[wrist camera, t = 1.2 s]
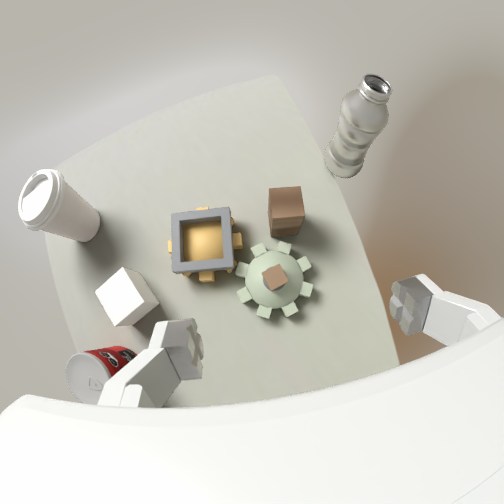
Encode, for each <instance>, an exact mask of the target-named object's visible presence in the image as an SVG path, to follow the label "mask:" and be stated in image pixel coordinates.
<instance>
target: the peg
mask: <svg viewBox="0 0 504 504" xmlns="http://www.w3.org/2000/svg"><path fill="white" fill-rule="evenodd" d="M268 216H269V225H270V234H271V237H276V236H287V235H297V234H298V231H299V229H300V227H301V224H302V222H303V220H304V217H305V211H304V205H303V199H302V193H301V187H300V186H297V187H283V188H271V189H269V203H268Z"/></svg>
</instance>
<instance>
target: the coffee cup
mask: <svg viewBox="0 0 504 504" xmlns="http://www.w3.org/2000/svg"><path fill="white" fill-rule="evenodd" d="M18 210H19V214H20V216H21V218H22V220H23V222H24V224H25V225H26V226H27V227H28V228H29V229H30V230H32V231H38V230H43V231H46V232H50V233H53V234H57V235H60V236H63V237H67V238H70V239H73V240H77V241H80V242H87V241H89V240H91V239H92V238H93V237H94V236H95V235H96V233H97V232H98V230H99V227H100V216H99V213H98V212H97V211H96V210H95V209H94V208H93V207H92V206H91V205H90V204H89V203H88V202H86V201H85V200H84V199H83V198H82V197H81V196H80V195H79V194H78V193H77V192H76V191H75V190H73V189H72V188H71V187H70V186H69V185H68V184H67V183H66V182H65V180H64V177H63V175H62V174H61V173H60V172H59V171H56V170H51V169H49V170H40V171H38V172H36V173H35V174H33V175H32V176H31V177H30V178H29V180H28V181H27V183H26V184H25V186H24V188H23V190H22V192H21V195H20V198H19V205H18Z"/></svg>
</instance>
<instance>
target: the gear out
mask: <svg viewBox="0 0 504 504" xmlns="http://www.w3.org/2000/svg"><path fill="white" fill-rule="evenodd" d="M233 224H234V220H233V218H232V217H231V211H230V208H229V207H223V208H214V209H209V207H202V208H196V211H189V212H181V213H173V214H171V235H172V240H168V252H169V253H170V254H172V272H174V273H176V274H180V273H182V274H183V275H185V276H187V277H189V275H190V274H191V273H192V272H199V280H200V281H202V282H212V281H215V275H214V271H216V270H226V271H227V272H228V273H231V271H232V270H233V269H235V267H236V266H237V262H236V261H235V260H234V251H233V250H234V249H243V245H242V236H241V233H232V226H233Z"/></svg>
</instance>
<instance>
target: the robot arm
mask: <svg viewBox="0 0 504 504" xmlns="http://www.w3.org/2000/svg"><path fill="white" fill-rule="evenodd" d="M392 292H393V296H392V297H391V299H390V304H389V307H390V312H391V315H392V317H393V318H394V319H395V320H396V321H399V322H400V328H401V329H402V330H403V332H404V333H405V334H406V336H408V335H412V334H414V333H417V332H421V331H423V332H424V333H426V334H427V335H429V336H431V337H433V338H435V339H436V340H438V341H440V342H441V343H443V344H445V345H447V347H445V348H443V349H441V350H438V351H436V352H434V353H431V354H429V355H426V356H424V357H422V358H419V359H417V360H414V361H411V362H409V363H406V364H403V365H400V366H398V367H395V368H392V369H389V370H386V371H383V372H380V373H377V374H374V375H371V376H367V377H364V378H361V379H357V380H354V381H350V382H347V383H343V384H339V385H335V386H331V387H327V388H323V389H319V390H314V391H310V392H305V393H300V394H295V395H290V396H284V397H279V398H273V399H267V400H260V401H253V402H245V403H237V404H227V405H216V406H202V407H179V408H161V407H162V406H163V405H164V403H165V402H166V401H167V399H168V398H169V397H170V396H171V394H172V393H173V392H174V390H175V389H176V388H177V386H178V385H179V384H180V382H181V381H182V380H193V379H202V368H203V366H202V363H201V360H202V358H203V354H204V351H203V343H202V339H201V336H200V335H199V334H198V333H197V324H196V322H195V320H194V319H193V318H191V319H181V320H170V321H161V322H157V323H156V324H155V327H154V331H153V334H152V337H151V340H150V343H149V347H148V349H144V350H143V351H142V352H141V353H140V354H138V355H137V356H136V357H135V358H134V359H133V360H131V361H130V362H129V363H128V364H127V365H126V366H124V367H123V368H122V369H121V370H120V371H119V372H117V373H116V374H115V375H114V376H113V377H112V378H110V379H109V380H108V381H107V382H106V383H105V385H104V387H103V390H102V393H101V396H100V399H99V401H98V404H97V405H93V404H84V403H76V402H68V401H62V400H56V399H50V398H45V397H40V396H36V395H24V396H22V397H21V398H19V399H17V400H16V401H15V402H14V403H12V404H11V405H10V406H9V407H7V408H6V409H5V410H4V411H3V412H2V413H1V415H0V504H504V317H503V318H501V317H500V316H499V315H498V314H497V313H496V312H495V311H494V310H493V309H492V308H491V307H489V306H488V305H486V304H483V303H481V302H478V301H475V300H472V299H469V298H466V297H463V296H459V295H456V294H453V293H450V292H447V291H445V292H443V291H442V290H441V289H440V288H439V287H438V286H437V285H436V284H435V283H433V282H432V281H431V280H430V279H429V278H428V277H427V276H426V275H424V274H420V275H416V276H413V277H410V278H407V279H403V280H399V281H395V282H394V283H393V285H392Z"/></svg>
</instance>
